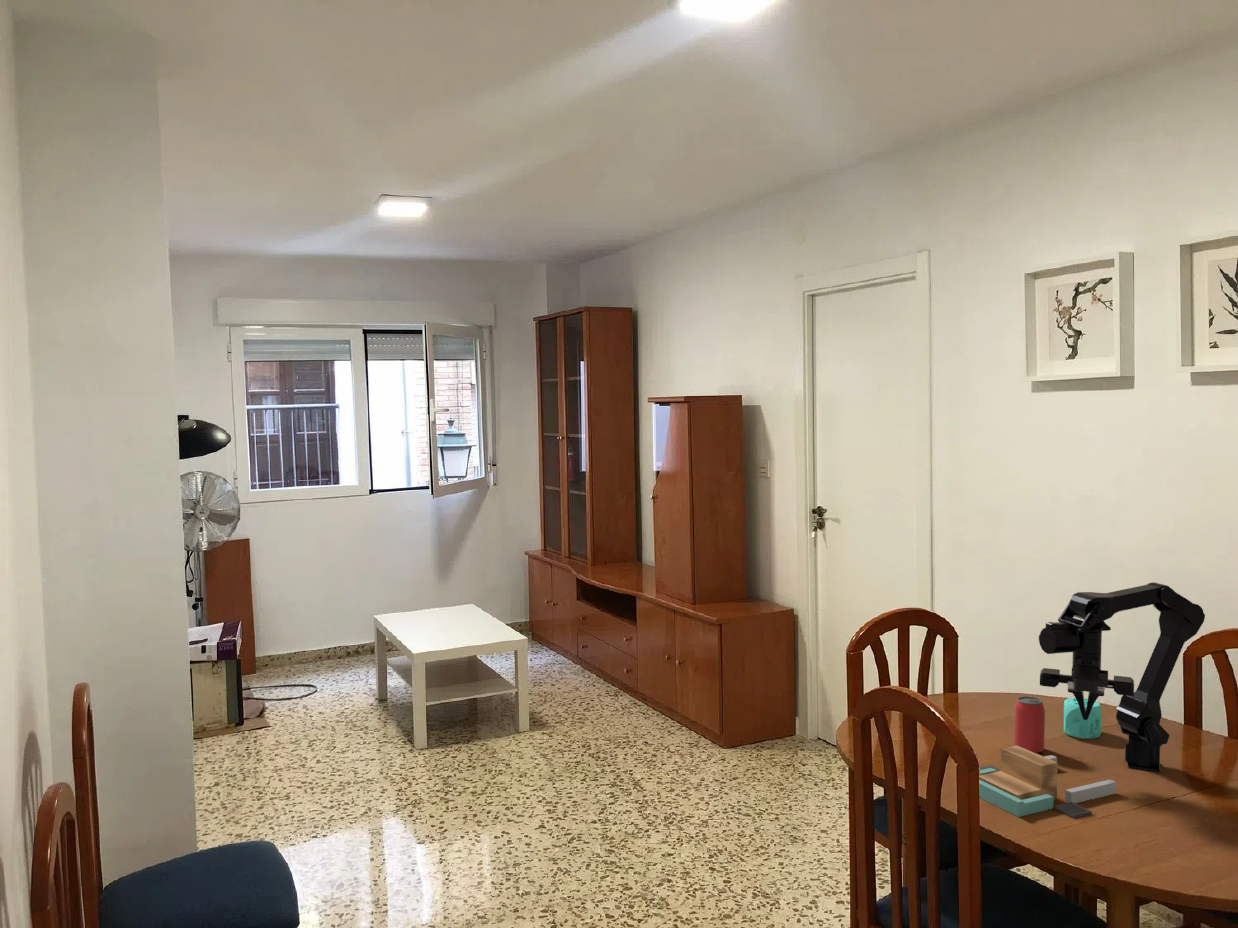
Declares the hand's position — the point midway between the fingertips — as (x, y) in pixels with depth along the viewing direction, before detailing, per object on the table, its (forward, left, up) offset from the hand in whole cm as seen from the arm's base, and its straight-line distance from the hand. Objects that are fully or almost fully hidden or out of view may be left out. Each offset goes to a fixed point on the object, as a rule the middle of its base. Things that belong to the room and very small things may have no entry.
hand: (1085, 719), depth 216 cm
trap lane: (+9, +15, -12) cm, 21 cm away
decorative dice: (+1, -27, -12) cm, 30 cm away
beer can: (+12, -10, -12) cm, 20 cm away
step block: (+13, +19, -12) cm, 26 cm away
